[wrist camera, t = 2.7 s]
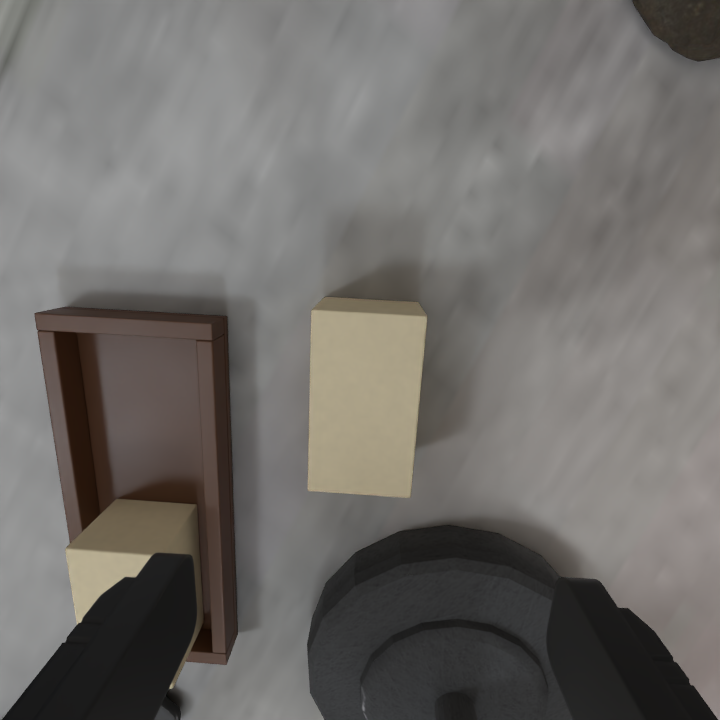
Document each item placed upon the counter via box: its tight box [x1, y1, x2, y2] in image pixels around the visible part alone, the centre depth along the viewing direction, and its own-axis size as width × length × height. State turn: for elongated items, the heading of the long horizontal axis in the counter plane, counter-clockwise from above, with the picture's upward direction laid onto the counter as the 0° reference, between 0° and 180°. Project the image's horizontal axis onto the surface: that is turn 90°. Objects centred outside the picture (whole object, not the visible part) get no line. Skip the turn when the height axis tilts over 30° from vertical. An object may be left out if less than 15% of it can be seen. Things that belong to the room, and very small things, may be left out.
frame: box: [35, 307, 238, 665], centre depth 23 cm, size 20×8×2 cm, turn 177°
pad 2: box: [308, 297, 427, 498], centre depth 19 cm, size 8×4×4 cm, turn 177°
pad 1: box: [65, 499, 204, 689], centre depth 22 cm, size 8×4×4 cm, turn 177°
